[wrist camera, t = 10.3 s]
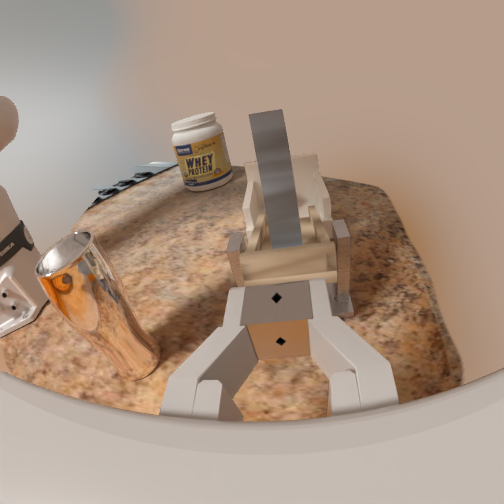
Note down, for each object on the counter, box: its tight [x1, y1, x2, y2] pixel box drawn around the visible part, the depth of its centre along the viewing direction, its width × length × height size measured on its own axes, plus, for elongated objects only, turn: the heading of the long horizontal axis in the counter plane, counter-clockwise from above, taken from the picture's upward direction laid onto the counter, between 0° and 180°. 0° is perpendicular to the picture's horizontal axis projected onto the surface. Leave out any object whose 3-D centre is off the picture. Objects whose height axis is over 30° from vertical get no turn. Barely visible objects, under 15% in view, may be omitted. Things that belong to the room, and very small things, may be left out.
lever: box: [239, 109, 337, 310], centre depth 27 cm, size 16×8×16 cm, turn 176°
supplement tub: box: [171, 112, 233, 191], centre depth 62 cm, size 12×12×17 cm
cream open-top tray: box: [242, 153, 332, 241], centre depth 42 cm, size 12×12×9 cm
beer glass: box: [34, 229, 161, 381], centre depth 23 cm, size 7×7×15 cm
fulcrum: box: [226, 219, 354, 319], centre depth 28 cm, size 6×12×9 cm, turn 86°
